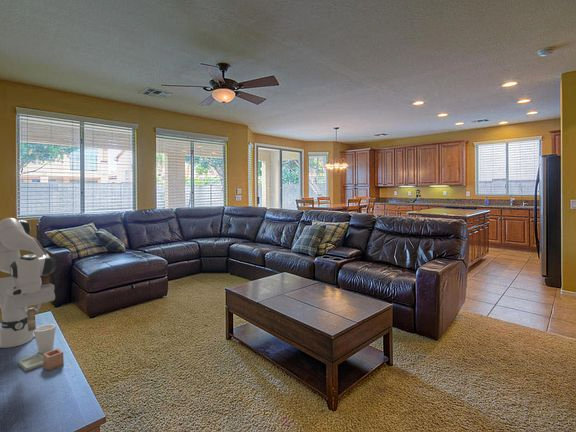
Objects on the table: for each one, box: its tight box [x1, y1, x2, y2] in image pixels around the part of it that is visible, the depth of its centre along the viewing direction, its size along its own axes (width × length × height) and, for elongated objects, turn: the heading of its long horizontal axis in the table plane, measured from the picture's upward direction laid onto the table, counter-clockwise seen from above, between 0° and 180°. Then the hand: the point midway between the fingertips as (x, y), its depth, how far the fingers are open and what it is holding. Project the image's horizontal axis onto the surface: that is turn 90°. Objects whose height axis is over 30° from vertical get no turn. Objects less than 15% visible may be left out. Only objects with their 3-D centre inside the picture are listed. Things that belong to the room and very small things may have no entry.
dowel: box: [27, 307, 37, 332], centre depth 158 cm, size 3×3×11 cm
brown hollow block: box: [42, 348, 65, 372], centre depth 158 cm, size 6×6×7 cm
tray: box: [17, 352, 44, 373], centre depth 160 cm, size 12×9×2 cm
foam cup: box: [33, 323, 57, 354], centre depth 173 cm, size 10×9×13 cm
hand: (31, 314), depth 158 cm, fingers closed on dowel, 3 cm apart
